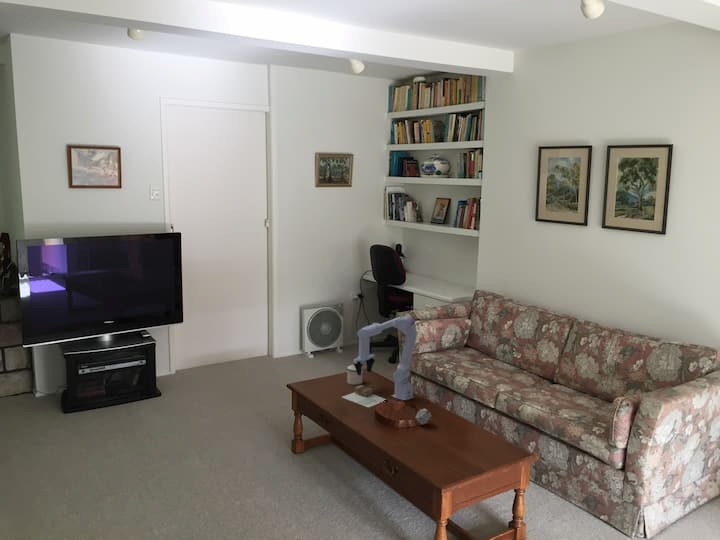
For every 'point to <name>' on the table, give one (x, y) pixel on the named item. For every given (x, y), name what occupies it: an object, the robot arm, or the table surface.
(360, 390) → the brown rectangular block
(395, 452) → the table surface
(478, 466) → the table surface
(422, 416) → the grey rock
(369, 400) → the grey mat
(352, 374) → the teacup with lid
